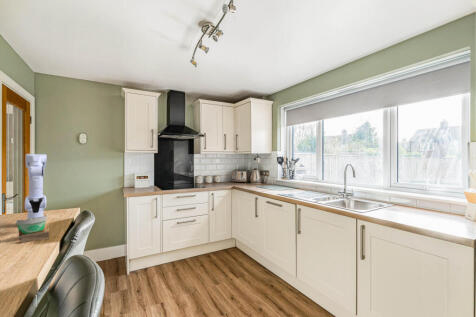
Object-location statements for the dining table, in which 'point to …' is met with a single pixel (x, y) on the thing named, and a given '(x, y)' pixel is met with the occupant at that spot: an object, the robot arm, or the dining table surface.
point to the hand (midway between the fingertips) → (35, 212)
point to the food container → (31, 226)
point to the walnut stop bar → (34, 236)
